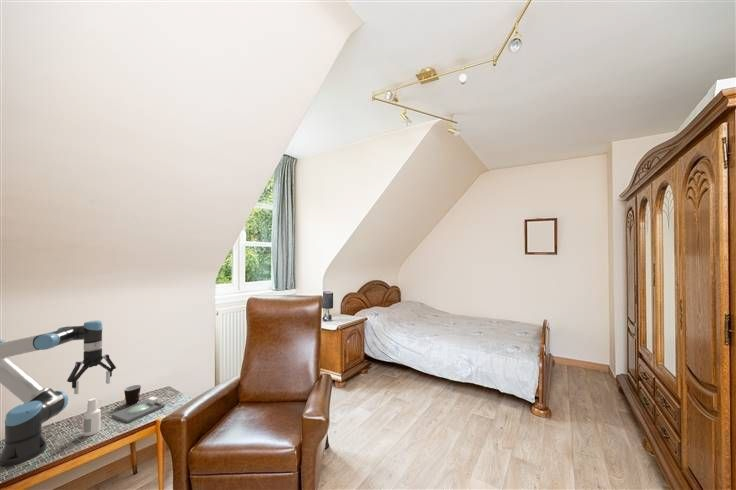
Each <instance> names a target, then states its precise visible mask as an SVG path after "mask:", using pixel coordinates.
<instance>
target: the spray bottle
mask: <svg viewBox="0 0 736 490" xmlns="http://www.w3.org/2000/svg"><path fill="white" fill-rule="evenodd" d="M97 398H98V397H93V398H89V399H88V400H87V408H86V409H87V410H86V412H84V413H83V436H84V437H89V436H93V435H95V434H98V433H99V432H100V431H101V426H102V425H101V421H102V420H101V418H102V417H101V415H102V413H101V412H102V411H101V409H100V408H98V401H97Z"/></svg>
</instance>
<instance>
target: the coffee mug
mask: <svg viewBox="0 0 736 490" xmlns="http://www.w3.org/2000/svg"><path fill="white" fill-rule="evenodd" d="M141 388H142V385H141V384H134V385H133V384H132V385H131V386H128V387H126V388H124V389H123V391H124V397H125V405H126V406H127V405H130V406H133V405H132V404H134V405H135V403H137V402H138V401H139V402H140V394H141ZM139 402H138V403H139ZM138 403H137V404H138Z"/></svg>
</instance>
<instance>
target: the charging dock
mask: <svg viewBox="0 0 736 490" xmlns="http://www.w3.org/2000/svg"><path fill="white" fill-rule="evenodd" d="M164 407H165V404H164V403H161V402H159V397H156V396H151V397H148V398H147V399H145V400H143V401H139V402H138V403H137V404H134V405H130V406H129V407H126V408H123V409H121V410H119V411H116V412H113V413H111V415H110V416H112V417H111V418H113V417H114V419H116V418H117V419H116V420H118V419H119V420H118V421H122V422H124V423H127V424H129V423H131V422H134V421H136V420H138V419H140V418H142V416H143V417H145V416H147V415H149V414H151V413H153V412H156V411H158V410H159V409H162V408H164Z"/></svg>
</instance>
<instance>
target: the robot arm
mask: <svg viewBox="0 0 736 490" xmlns="http://www.w3.org/2000/svg"><path fill="white" fill-rule="evenodd" d="M79 340H83V360H82V361H76V362H75V365H74V367H73V369H72V371H71V372H70V374H69V376H68V378H67V379H66V382H68V383H71V388H72V389H73V394H74V395H78V394H79V388H80V387H79V384H80V383H79V379H80V378H81V377H82V375H83V374H84V373H85V371H87V370H88V369H89V368H93V367H97V366H100V367H102V368H103V369H105V370H106V371H105V384H107V385H110V384H111V378H112V376H113V371H114V370H116V369H117V366H116V365H115V364H114V363H113V361H112V359H111V358H110V355H109V354H104V355H103V322H102V320H89V321H85V322H84V323H83V325H75V326H71V325H70V326H63V327H59V328H57V330H55V331H50V332H46V333H42V334H38V335H33V336H28V337H23V338H17V339H14V340H9V341H4V340H2V339H0V384H1V385H2V386H3V387H4V388H5V389H7V390H8V391H9V392H11V393H12V394H13V395H14V396H15V397H16V398H17V399H19V400H20V401H21V402H23V403H22V404H19V405H17V406H15V407H13V408H12V409H10V410H9V411H8V412H7V413H6V414H5V420H4V446H3V448H2V450H1V453H0V465H9V466H13V465H12V464H14V465H17V464H21V463H23V462H26V461H29V460H30V459H33V458H35V457H37V456H39V455H41V454H42V453H43V452H45V451H46V449H47V447H48V446H47V441H46V439H45V437H44V435H43V433H42V431H43V427H42V424H44V423H45V422H47V421H49V420H51V419H52V418H53V417H55V416H58V414H60V413H61V412H62V411H63V410H65V409H66V408H67V405H68V404H69V403H68V402H69V396H68V394H67V393H66V392H65V391H62V390H53V389H52V388H51V387H47V388H46V387H43V385H41V384H40V383H39V382H37V381H36V380H35V379H34V378H33V377H32V376H30V375H29V374H28V373H27V372H25V370H23V369H22V368H21V367H20V366H19V365H17V364H16V363H15V362H14V361H13V360H12V359H11V358H10V357H15V356H19V355H23V354H28V353H33V352H37V351H44V350H46V351H47V350H49V349H53V348H55V347H57V346H60V345H63V344H65V343H68V342H69V343H70V342H71V341H79ZM103 359H104V360H105V361H106V362H107V364H108V365H109V366H108V365H107V364H106V363H104V362H103ZM82 365H83V366H82ZM81 366H82V367H81ZM80 367H81V368H80ZM79 369H80V370H79Z"/></svg>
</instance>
